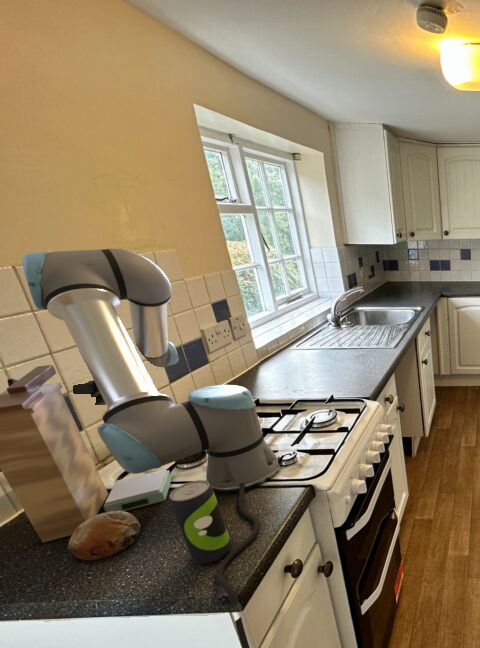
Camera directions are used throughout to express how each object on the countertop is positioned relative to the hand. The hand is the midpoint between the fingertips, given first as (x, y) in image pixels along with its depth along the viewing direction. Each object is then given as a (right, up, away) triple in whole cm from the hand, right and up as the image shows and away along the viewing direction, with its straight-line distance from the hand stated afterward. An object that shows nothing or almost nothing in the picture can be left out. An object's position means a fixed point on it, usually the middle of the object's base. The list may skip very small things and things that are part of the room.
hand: (54, 379), depth 91 cm
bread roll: (+23, -33, -10) cm, 41 cm away
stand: (+8, -30, -3) cm, 31 cm away
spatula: (+6, -3, -10) cm, 12 cm away
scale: (+16, -27, +4) cm, 32 cm away
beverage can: (+45, -34, -13) cm, 58 cm away
